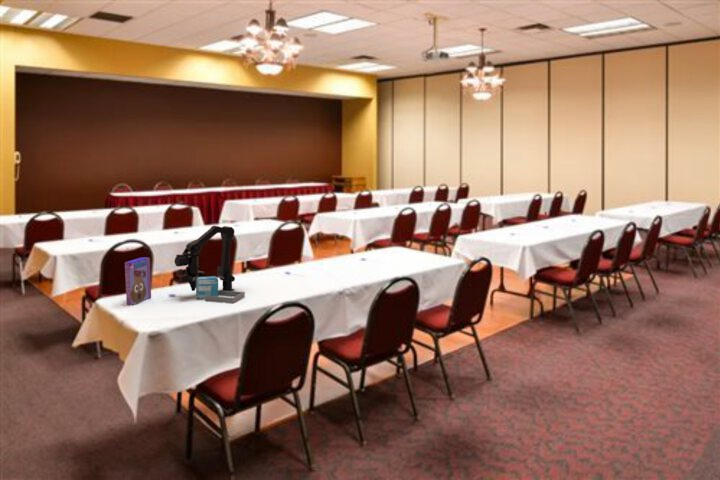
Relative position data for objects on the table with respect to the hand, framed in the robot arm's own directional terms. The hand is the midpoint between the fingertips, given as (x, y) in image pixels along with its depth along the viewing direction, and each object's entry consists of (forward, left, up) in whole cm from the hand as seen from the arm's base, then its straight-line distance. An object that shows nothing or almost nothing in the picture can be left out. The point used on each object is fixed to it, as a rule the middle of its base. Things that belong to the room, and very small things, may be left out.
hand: (193, 290), depth 356 cm
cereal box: (+18, -24, -4) cm, 30 cm away
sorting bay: (0, +20, -4) cm, 20 cm away
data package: (0, +9, -4) cm, 10 cm away
